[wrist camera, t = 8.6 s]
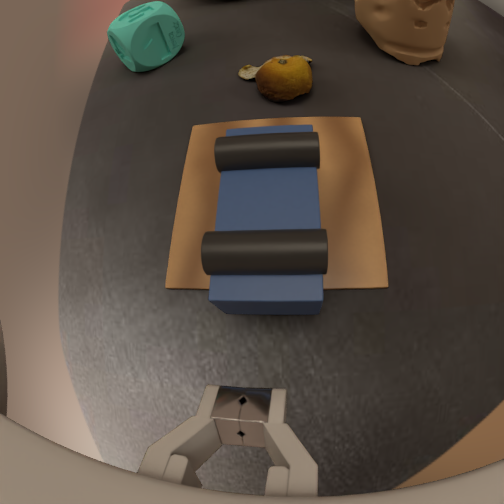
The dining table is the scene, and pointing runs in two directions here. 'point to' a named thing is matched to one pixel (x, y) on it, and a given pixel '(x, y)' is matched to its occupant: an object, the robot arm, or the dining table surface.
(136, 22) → the decorative dice
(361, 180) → the brown flat square board
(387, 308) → the dining table surface
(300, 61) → the fruit
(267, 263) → the toy car
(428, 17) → the container
